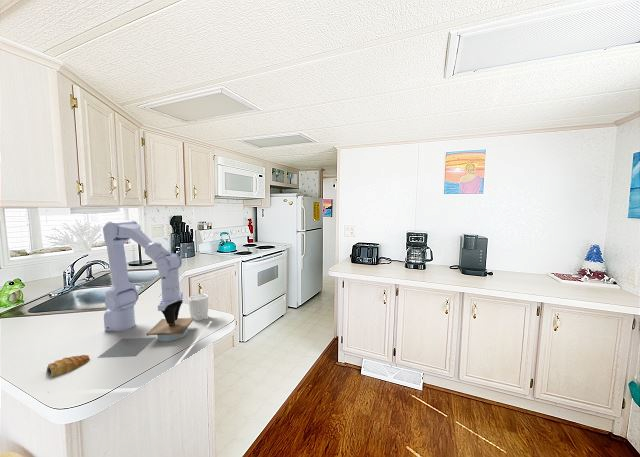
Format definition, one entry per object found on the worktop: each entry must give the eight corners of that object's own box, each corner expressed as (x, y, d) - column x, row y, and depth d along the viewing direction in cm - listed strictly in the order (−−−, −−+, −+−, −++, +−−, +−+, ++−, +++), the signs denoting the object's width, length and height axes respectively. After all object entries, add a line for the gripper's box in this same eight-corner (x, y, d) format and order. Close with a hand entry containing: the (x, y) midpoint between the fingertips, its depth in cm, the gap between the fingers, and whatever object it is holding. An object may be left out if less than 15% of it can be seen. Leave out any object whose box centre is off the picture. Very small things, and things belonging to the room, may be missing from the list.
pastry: (85, 358, 84) (84, 347, 84) (93, 364, 81) (93, 353, 80) (44, 374, 76) (43, 362, 76) (52, 382, 73) (50, 369, 72)
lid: (146, 335, 91) (146, 322, 90) (162, 320, 102) (161, 309, 102) (182, 333, 93) (182, 321, 92) (193, 319, 104) (193, 308, 104)
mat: (97, 360, 83) (96, 357, 83) (122, 340, 95) (122, 338, 95) (135, 358, 84) (135, 356, 84) (156, 339, 96) (156, 337, 95)
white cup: (201, 323, 108) (200, 300, 108) (185, 322, 110) (184, 299, 109) (212, 316, 116) (212, 294, 115) (197, 314, 118) (196, 293, 117)
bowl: (151, 343, 93) (151, 335, 92) (166, 330, 102) (166, 322, 102) (180, 342, 93) (180, 334, 93) (192, 329, 103) (191, 321, 103)
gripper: (171, 293, 89) (173, 330, 90) (189, 281, 104) (191, 313, 105) (150, 293, 89) (152, 331, 90) (171, 281, 103) (173, 313, 104)
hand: (172, 321), depth 97 cm, fingers closed on lid, 2 cm apart
